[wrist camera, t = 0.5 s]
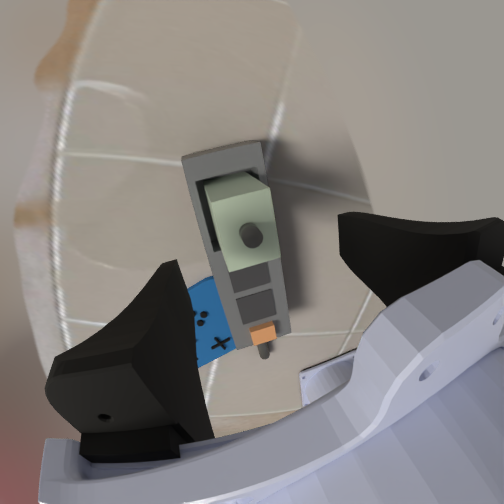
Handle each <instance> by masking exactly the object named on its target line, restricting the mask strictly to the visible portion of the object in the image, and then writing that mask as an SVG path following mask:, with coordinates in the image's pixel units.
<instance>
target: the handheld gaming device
mask: <svg viewBox="0 0 504 504" xmlns="http://www.w3.org/2000/svg"><path fill="white" fill-rule="evenodd" d="M187 290H188V293H189V295H190V298H191V302H192V307H193V312H194V318H195V335H196V353H197V365H198V368H199V367H201V366H203V365H205V364H207V363H209V362H211V361H213V360H215V359H217V358H219V357H220V356H222V355H224V354H226V353H228V352H230V351H232V350H234V349H236V346H235V343H234V340H233V337H232V334H231V331H230V328H229V325H228V321H227V318H226V315H225V312H224V309H223V306H222V303H221V300H220V296H219V293H218V290H217V287H216V284H215V280H214V277H213V276H210V277H207V278H205V279H203V280H201V281H200V282H198V283H196V284H195V285H193V286H191V287H190V288H188V289H187Z"/></svg>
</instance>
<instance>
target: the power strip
mask: <svg viewBox="0 0 504 504" xmlns="http://www.w3.org/2000/svg"><path fill="white" fill-rule="evenodd" d="M181 161H182V165H183V169H184V173H185V177H186V181H187V185H188V189H189V192H190V196H191V200H192V204H193V207H194V211H195V215H196V218H197V222H198V226H199V229H200V233H201V236H202V240H203V243H204V247H205V250H206V254H207V257H208V260H209V264H210V267H211V270H212V274H213V277H214V280H215V284H216V287H217V290H218V293H219V296H220V300H221V303H222V306H223V309H224V312H225V315H226V318H227V321H228V325H229V328H230V331H231V334H232V337H233V340H234V343H235V346H236V349H237V350H238V349H242V348H245V347H248V346H252V345H254V346H255V345H257V346H258V350H259V354H260V357H261V358H262V359H267V358H269V355H270V354H269V350H268V345H267V342H268V341H271V340H274V339H277V337H280V336H283V335H286V334H289V333H291V326H290V319H289V312H288V305H287V298H286V291H285V284H284V278H283V271H282V265H281V258H277V259H274V260H270V261H267V262H263V263H260V264H256V265H253V266H250V267H246V268H243V269H239V270H236V271H232V272H229V271H228V268H227V265H226V262H225V259H224V256H223V253H222V251H221V248H220V245H219V242H218V239H217V236H216V233H215V229H214V225H213V221H212V217H211V213H210V210H209V206H208V202H207V198H206V194H205V190H204V186H203V181H206V180H210V179H214V178H218V177H222V176H226V175H230V174H234V173H238V172H243V171H245V172H246V173H248V174H250V175H251V176H253V177H254V178H256V179H257V180H259V181H260V182H262V183H263V184H265V185H266V186H268V181H267V175H266V170H265V164H264V159H263V153H262V148H261V143H260V142H257V141H244V142H240V143H235V144H230V145H226V146H222V147H217V148H213V149H209V150H205V151H201V152H197V153H193V154H190V155H186V156H182V159H181ZM268 187H269V186H268Z"/></svg>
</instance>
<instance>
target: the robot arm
mask: <svg viewBox="0 0 504 504" xmlns="http://www.w3.org/2000/svg"><path fill="white" fill-rule="evenodd" d="M338 229H339V249H340V256H341V257H342V259H343V260H344V262H345V263H346V264H347V266H348V267H349V268H350V269H351V270H352V272H353V273H354V274H355V275H356V276H357V277H358V278H359V279H360V280H362V281H363V282H364V283H365V284H366V285H367V286H368V287H369V288H370V289H371V290H372V291H373V292H374V293H375V294H376V295H377V296H378V297H379V298H380V299H381V300H382V302H383V303H384V304H385V305H386V306H387V308H385V309H384V310H382V311H381V312H380V313H379V314H378V315H377V316H376V318H375V319H374V320H373V321H372V323H371V324H370V325H369V326H368V327H367V329H366V330H365V331H364V332H363V335H362V337H361V340H360V343H359V345H358V348H357V350H353V351H351V352H349V353H347V354H344V355H342V356H340V357H337V358H335V359H332V360H330V361H327V362H325V363H322V364H320V365H317V366H315V367H312V368H309V369H307V370H304V371H302V372H300V374H299V377H300V386H301V396H302V405H303V408H301V409H299V410H297V411H295V412H294V413H292V414H290V415H288V416H286V417H284V418H282V419H280V420H278V421H276V422H274V423H271V424H268V425H265V426H261V427H258V428H254V429H251V430H247V431H243V432H240V433H236V434H232V435H227V436H223V437H219V438H215V437H214V433H213V430H212V426H211V423H210V419H209V415H208V412H207V408H206V404H205V399H204V395H203V391H202V386H201V381H200V376H199V371H198V365H197V353H196V335H195V318H194V312H193V307H192V302H191V298H190V295H189V293H188V290H187V287H186V284H185V282H184V279H183V276H182V273H181V271H180V268H179V265H178V262H177V259H176V260H172V261H169V262H165V263H162V264H161V265H160V267H159V268H158V269H157V271H156V272H155V273H154V275H153V276H152V277H151V279H150V280H149V281H148V283H147V284H146V285H145V286H144V288H143V289H142V290H141V291H140V292H139V294H138V295H137V296H136V297H135V299H134V300H133V301H132V302H131V303H130V304H129V305H128V306H127V307H126V308H125V309H124V310H123V311H122V312H121V313H120V314H119V315H118V316H117V317H116V318H114V319H113V320H112V321H111V322H110V323H108V324H107V325H106V326H105V327H103V328H102V329H101V330H100V331H98V332H97V333H95V334H94V335H93V336H91V337H90V338H88V339H86V340H85V341H83V342H82V343H80V344H78V345H77V346H75V347H73V348H71V349H69V350H67V351H66V352H64V353H62V354H60V355H58V356H56V357H55V358H54V361H53V364H52V367H51V370H50V373H49V376H48V379H47V382H46V386H45V394H46V396H47V399H48V400H49V402H50V404H51V405H52V406H53V408H54V409H55V410H56V411H57V412H58V413H59V414H60V415H61V416H62V417H63V418H64V419H65V420H67V421H68V422H69V423H70V424H71V425H72V426H73V427H74V428H76V429H77V430H78V431H79V432H80V433H81V442H78V441H75V440H73V439H57V438H47V439H46V441H45V446H44V452H43V459H42V466H41V474H40V484H39V496H38V502H39V503H40V504H504V267H503V266H501V265H502V262H503V258H504V221H503V220H501V219H499V218H496V217H493V218H486V219H481V220H474V221H464V222H422V221H412V220H405V219H398V218H391V217H386V216H380V215H375V214H368V213H361V212H347V213H343V214H339V215H338Z"/></svg>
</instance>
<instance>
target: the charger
mask: <svg viewBox="0 0 504 504" xmlns="http://www.w3.org/2000/svg"><path fill="white" fill-rule="evenodd" d="M203 186H204V190H205V194H206V198H207V202H208V206H209V210H210V213H211V217H212V221H213V225H214V229H215V233H216V236H217V239H218V242H219V245H220V248H221V251H222V253H223V256H224V259H225V262H226V265H227V268H228V271H229V272H232V271H236V270H239V269H243V268H246V267H250V266H253V265H256V264H260V263H263V262H267V261H270V260H274V259H277V258H280V257H281V253H280V246H279V240H278V234H277V228H276V222H275V216H274V210H273V204H272V198H271V192H270V188H269V187H268V186H266V185H265V184H263V183H262V182H260V181H259V180H257V179H256V178H254V177H253V176H251V175H250V174H248V173H246V172H245V171H243V172H238V173H234V174H230V175H226V176H222V177H218V178H214V179H210V180H206V181H203Z"/></svg>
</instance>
